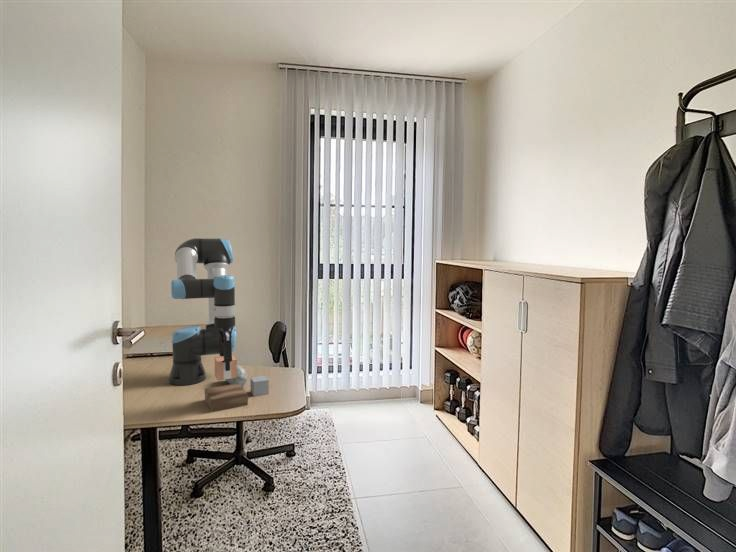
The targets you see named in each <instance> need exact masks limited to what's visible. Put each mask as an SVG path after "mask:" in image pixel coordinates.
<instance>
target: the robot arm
mask: <svg viewBox="0 0 736 552" xmlns="http://www.w3.org/2000/svg"><path fill="white" fill-rule="evenodd" d="M233 255H234V254H233V248H232V244H231V242H230V240H229V239H227V238H197V237H196V238H190V239H188V240H186V241H184V242H182V243H181V244H180V245H179V246H177V248H176V250H175V251H174V261H175V263H176V279H173V280H171V284H170V286H171V287H170V289H171V291H170V292H171V298H172V299H174V300H188V299H189V300H190V299H207V300H208V322H207V323H206V324H205V328H203V329H202V327H201V326H200V325H190V326H185V327H181V328H179V329H176V330H174V331H173V333H172V337H171V338H172V339H171V343H172V365H171V369H170V372H169V375H168V383H169V384H171V385H175V386H189V385H194V384H199V383H201V382H203V381H205V380H206V378H207V373H206V370H205V367H204V364H203V362H202V357H203V356H212V355H219V357H222V356H224V361H222V363H223V379H224V380H225V379H230V378H231V361H232V355H233V353H232V352H234V350H235V347H236V341H237V327H236V317H235V315H236V301H235V296H236V295H235V291H236V289H235V288H236V287H235V286H236V283H235V282H236V281H235V277H234V275H231V274H228V269H229V268H230V267H231V266H230V265H231V264H232V263H233V262H234V257H233ZM197 264H203V268H204V269H205V270H206V271H207V278H198V275H197V274H198V272H197Z"/></svg>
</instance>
